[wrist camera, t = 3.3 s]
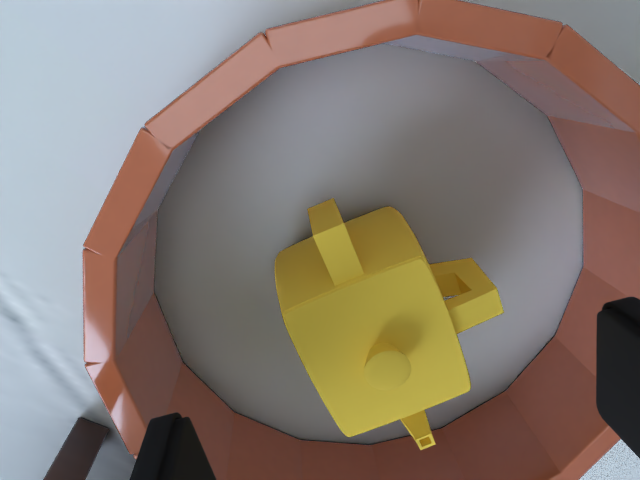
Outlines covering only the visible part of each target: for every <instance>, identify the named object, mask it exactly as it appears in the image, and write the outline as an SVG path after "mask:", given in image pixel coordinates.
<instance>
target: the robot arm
mask: <svg viewBox="0 0 640 480" xmlns="http://www.w3.org/2000/svg"><path fill="white" fill-rule="evenodd" d="M596 406H597V409H598V412H599V414H600V416H601V417H602V419H603V420H604V421H605V422H606V423H607V424H608V425H609V426H610V427H611V429H612V430H613V431H614V432H615V433H616V434H617V435H618V436H619V437H620V438H621V439H622V440H623V441H624V442H625V443H626V444H627V445H628V447H629V448H630V449H631V450H632V451H633V452H634V453H635V454H636V455H637V456H638V457H639V458H640V299H638V298H636V297H626V298H622V299H618V300H614V301H611V302H607V303H605V304H604V305H603V307H602V311H600V312H598V314H597V335H596ZM130 480H216V477H215V475H214V473H213V470H212V468H211V466H210V463H209V461H208V459H207V456H206V454H205V452H204V449H203V447H202V445H201V442H200V440H199V438H198V435H197V433H196V431H195V428H194V426H193V424H192V421H191V420H190V418H189V417H183V418H182V416H181V414H180V413H178V412H175V413H171V414H167V415H163V416H160V417H156V418H152V419H151V420H150V422H149V424H148V427H147V430H146V433H145V436H144V439H143V442H142V445H141V448H140V451H139V454H138V456H137V459H136V462H135V465H134V468H133V471H132V474H131V477H130Z"/></svg>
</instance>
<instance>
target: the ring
mask: <svg viewBox="0 0 640 480" xmlns="http://www.w3.org/2000/svg"><path fill="white" fill-rule="evenodd" d="M265 34H266V36H265V35H264V33H262V32H260V33H258V34H257V35H256V36H254V37H253V38H252V39H250V40H249V41H248V42H247V43H245V44H244V45H243V46H242V47H240V48H239V49H238V50H237V51H235V52H234V53H233V54H232V55H230V56H229V57H228V58H226V59H225V60H224V61H223V62H221V63H220V64H219V65H218V66H216V67H215V68H214V69H213V70H211V71H210V72H209V73H208V74H206V75H205V76H204V77H202V78H201V79H200V80H199V81H197V82H196V83H195V84H194V85H192V86H191V87H190V88H189V89H187V90H186V91H185V92H184V93H182V94H181V95H180V96H179V97H177V98H176V99H175V100H173V101H172V102H171V103H170V104H168V105H167V106H166V107H165V108H163V109H162V110H161V111H160V112H158V113H157V114H156V115H155V116H153V117H152V118H151V119H149V120H148V121H147V122H146V123H145V126H144V127H142V128H141V129H140V130H139V132H138V134H137V136H136V138H135V140H134V142H133V144H132V147H131V149H130V151H129V153H128V155H127V157H126V159H125V161H124V163H123V165H122V167H121V169H120V171H119V173H118V175H117V177H116V179H115V181H114V183H113V185H112V187H111V189H110V191H109V193H108V195H107V197H106V199H105V201H104V204H103V206H102V208H101V210H100V212H99V214H98V216H97V218H96V220H95V222H94V224H93V226H92V228H91V230H90V232H89V234H88V236H87V238H86V240H85V242H84V244H83V247H85V248H84V249H83V328H84V362H86V364H85V368H86V370H87V372H88V374H89V376H90V377H91V379H92V381H93V383H94V385H95V387H96V389H97V391H98V393H99V395H100V397H101V399H102V401H103V403H104V405H105V407H106V409H107V411H108V413H109V414H110V416H111V418H112V420H113V422H114V424H115V426H116V428H117V430H118V432H119V434H120V436H121V438H122V440H123V442H124V444H125V446H126V448H127V450H128V452H129V453H130V454H131V455H132V454H133V457H134V459H137V456H138V454H139V451H140V448H141V445H142V442H143V439H144V436H145V433H146V430H147V427H148V424H149V422H150V420H151V419H152V418H156V417H160V416H163V415H167V414H171V413H175V412H178V413H180V414H181V416H182V418H183V417H189V418H190V420H191V421H192V424H193V426H194V428H195V431H196V433H197V435H198V438H199V440H200V442H201V445H202V447H203V449H204V452H205V454H206V456H207V459H208V461H209V463H210V466H211V468H212V470H213V473H214V475H215V477H216V480H579V479H580V478H581V477H582V476H583V475H584V474H585V473H586V472H587V471H588V470H589V469H590V468H591V467H592V466H593V465H594V464H595V463H597V462H598V461H599V460H600V459H601V458H602V457H603V456H604V455H605V454H606V453H607V452H608V451H609V450H610V449H611V448H612V447H613V446H614V445H615V444H616V443H617V442H618V441H619V440H620V439H621V438H620V437H619V436H618V435H617V434H616V433H615V432H614V431H613V430H612V429H611V427H610V426H609V425H608V424H607V423H606V422H605V421H604V420H603V419H602V417H601V416H600V414H599V412H598V409H597V406H596V335H597V314H598V312H600V311H602V307H603V305H604V304H605V303H607V302H611V301H614V300H618V299H622V298H626V297H636V298H638V299H640V85H638V84H637V83H636V82H635V81H634V80H632V79H631V78H630V77H629V76H628V75H627V74H625V73H624V72H623V71H622V70H621V69H619V68H618V67H617V66H616V65H615V64H614V63H612V62H611V61H610V60H609V59H608V58H606V57H605V56H604V55H603V54H602V53H600V52H599V51H598V50H597V49H596V48H595V47H593V46H592V45H591V44H590V43H589V42H587V41H586V40H585V39H584V38H583V37H582V36H580V35H579V34H578V33H577V32H576V31H574V30H573V29H572V28H571V27H570V26H569V25H563V23H562V22H559V21H555V20H550V19H545V18H541V17H536V16H531V15H526V14H522V13H517V12H512V11H508V10H503V9H498V8H494V7H489V6H484V5H479V4H475V3H470V2H465V1H461V0H382V1H378V2H374V3H370V4H366V5H362V6H358V7H353V8H349V9H345V10H341V11H337V12H333V13H329V14H325V15H321V16H317V17H313V18H308V19H304V20H300V21H296V22H292V23H288V24H284V25H280V26H276V27H272V28H267V29H266V30H265ZM382 43H384V44H389V45H394V46H399V47H404V48H409V49H415V50H420V51H425V52H430V53H435V54H440V55H445V56H451V57H456V58H461V59H466V60H471V61H476V62H477V63H478V64H480V65H481V66H482V67H484V68H485V69H486V70H488V71H489V72H490V73H491V74H493V75H494V76H495V77H497V78H498V79H499V80H501V81H502V82H503V83H505V84H506V85H507V86H509V87H510V88H511V89H513V90H514V91H515V92H516V93H518V94H519V95H520V96H522V97H523V98H524V99H526V100H527V101H528V102H530V103H531V104H532V105H534V106H535V107H536V108H538V109H539V110H540V111H542V112H543V113H544V114H545V115H547V116H548V118H549V120H550V122H551V124H552V126H553V129H554V131H555V133H556V135H557V137H558V139H559V141H560V143H561V145H562V147H563V149H564V151H565V153H566V155H567V157H568V159H569V161H570V164H571V166H572V168H573V170H574V172H575V174H576V176H577V178H578V180H579V182H580V184H581V186H582V188H583V268H582V271H581V273H580V275H579V278H578V280H577V283H576V285H575V288H574V290H573V293H572V295H571V298H570V300H569V302H568V305H567V307H566V310H565V312H564V315H563V317H562V320H561V322H560V325H559V327H558V330H557V332H556V334H555V336H554V337H553V338H552V339H551V341H550V342H549V343H548V344H547V345H546V346H545V347H544V348H543V349H542V351H541V352H540V353H539V354H538V355H537V356H536V357H535V358H534V360H533V361H532V362H531V363H530V364H529V365H528V366H527V367H526V368H525V370H524V371H523V372H522V373H521V374H520V375H519V376H518V377H517V379H516V380H515V381H514V382H513V383H512V384H511V385H510V386H509V387H508V389H507V390H506V391H504V392H503V393H501V394H499V395H497V396H496V397H494V398H492V399H491V400H489V401H487V402H485V403H484V404H482V405H480V406H479V407H477V408H475V409H474V410H472V411H470V412H468V413H467V414H465V415H463V416H462V417H460V418H458V419H456V420H455V421H453V422H451V423H450V424H448V425H446V426H445V427H443V428H440V429H436V430H432V431H431V432H432V435H433V438H434V441H435V443H436V444H435V445H433V446H430V447H428V448H425V449H422V450H420V448H419V446H418V444H417V443H416V442H415V440H414V439H413V437H412V436H407V437H402V438H398V439H394V440H390V441H385V442H381V443H377V444H373V445H364V444H350V443H336V442H322V441H308V440H299V439H297V438H294V437H292V436H290V435H287V434H285V433H283V432H280V431H278V430H275V429H273V428H271V427H268V426H266V425H264V424H261V423H259V422H257V421H254V420H252V419H249V418H247V417H245V416H242V415H240V414H238V413H235V412H234V411H233V410H232V409H231V408H230V407H229V406H227V405H226V404H225V403H224V402H223V401H222V400H221V399H220V398H219V397H218V396H217V395H216V394H215V393H214V392H213V391H212V390H211V389H210V388H209V387H208V386H207V385H206V384H205V383H204V382H203V381H202V380H201V379H200V378H198V377H197V376H196V375H195V374H194V373H193V372H192V371H191V370H190V369H189V368H188V367H187V366H186V365H185V364H184V363H183V362H182V359H181V357H180V354H179V352H178V349H177V347H176V345H175V342H174V340H173V337H172V335H171V332H170V330H169V328H168V325H167V323H166V320H165V318H164V315H163V313H162V311H161V308H160V306H159V303H158V301H157V298H156V296H155V294H154V276H155V256H156V235H157V215H158V208H159V207H160V205H161V203H162V201H163V199H164V197H165V195H166V193H167V191H168V190H169V188H170V186H171V184H172V182H173V180H174V178H175V176H176V175H177V173H178V171H179V169H180V167H181V165H182V163H183V161H184V160H185V158H186V156H187V154H188V152H189V150H190V148H191V146H192V144H193V143H194V141H195V139H196V137H197V135H198V133H199V131H200V130H201V129H202V128H203V127H205V126H206V125H207V124H208V123H210V122H211V121H212V120H214V119H215V118H216V117H218V116H219V115H220V114H221V113H223V112H224V111H225V110H227V109H228V108H229V107H231V106H232V105H233V104H234V103H236V102H237V101H238V100H240V99H241V98H242V97H243V96H245V95H246V94H247V93H249V92H250V91H251V90H253V89H254V88H255V87H256V86H258V85H259V84H260V83H262V82H263V81H264V80H266V79H267V78H268V77H269V76H271V75H272V74H273V73H275V72H276V71H277V70H279V69H280V68H283V67H287V66H291V65H295V64H300V63H304V62H308V61H312V60H316V59H320V58H324V57H328V56H332V55H337V54H341V53H345V52H349V51H353V50H357V49H361V48H365V47H369V46H373V45H378V44H382Z"/></svg>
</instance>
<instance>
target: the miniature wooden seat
mask: <svg viewBox="0 0 640 480" xmlns="http://www.w3.org/2000/svg"><path fill="white" fill-rule="evenodd" d="M108 431H109V429H108V428H106V427H103V426H101V425H98V424H96V423H93V422H90V421H88V420H85V419H82V418H78V420H77V421H76V423H75V425H74V427H73V428H72V430H71V432H70V434H69V435H68V437H67V439H66V441H65V442H64V444H63V446H62V448H61V449H60V451H59V453H58V455H57V456H56V458H55V460H54V462H53V463H52V465H51V467H50V469H49V470H48V472H47V474H46V476H45V477H44V479H43V480H85V479H86V477H87V475H88V473H89V471H90V469H91V467H92V465H93V462H94V460H95V458H96V456H97V454H98V452H99V450H100V448H101V445H102V443H103V441H104V439H105V437H106V435H107V433H108Z"/></svg>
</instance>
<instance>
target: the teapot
mask: <svg viewBox="0 0 640 480" xmlns="http://www.w3.org/2000/svg"><path fill="white" fill-rule="evenodd" d="M307 210H308V215H309V220H310V224H311V229H312V234H313V236H312V237H310V238H307V239H305V240H303V241H301V242H298V243H296V244H294V245H292V246H290V247H288V248H286V249H284V250H282V251H280V252H279V253H278V255H277V257H276V259H275V283H276V290H277V295H278V300H279V304H280V309H281V313H282V317H283V320H284V323H285V326H286V328H287V331H288V333H289V336H290V338H291V340H292V342H293V344H294V347H295V349H296V351H297V353H298V355H299V357H300V359H301V361H302V363H303V365H304V367H305V369H306V371H307V373H308V375H309V377H310V379H311V381H312V383H313V384H314V386H315V388H316V390H317V392H318V393H319V395H320V397H321V399H322V400H323V402H324V404H325V406H326V407H327V409H328V411H329V412H330V414H331V416H332V417H333V419H334V421H335V422H336V424H337V425H338V427H339V428H340V430H341V431H342V432H343V433H344V434H345V435H346V436H347V437H352V436H355V435H358V434H361V433H364V432H367V431H370V430H372V429H375V428H378V427H381V426H384V425H386V424H389V423H392V422H394V421H397V420H401V422H402V423H403V424H404V426H405V427H406V429H407V430H408V432H409V433H410V434H411V436H412V437H413V439H414V440H415V442H416V443H417V444H418V446H419V448H420V450H422V449H425V448H428V447H430V446H433V445H435V444H436V443H435V441H434V438H433V435H432V432H431V429H430V425H429V422H428V419H427V416H426V413H425V409H428V408H430V407H433V406H435V405H438V404H440V403H443V402H445V401H448V400H450V399H452V398H455V397H457V396H459V395H462V394H464V393H467V392H469V390H470V389H471V382H470V377H469V373H468V369H467V366H466V362H465V359H464V356H463V352H462V349H461V346H460V343H459V340H458V337H457V334H458V333H460V332H462V331H465V330H467V329H469V328H471V327H473V326H476V325H478V324H480V323H482V322H484V321H487V320H489V319H491V318H493V317H495V316H498V315H500V314H502V313H504V311H503V307H502V304H501V300H500V297H499V293H498V290H497V288H496V286H495V285H494V284H493V283H492V282H491V280H490V279H489V278H488V277H487V276H486V274H485V273H484V272H483V271H482V270H481V268H480V267H479V266H478V265H477V264H476V262H475V261H474V260H473V259H472V258H467V259H460V260H454V261H447V262H441V263H434V264H429V263H428V261H427V259H426V257H425V255H424V253H423V250H422V248H421V246H420V244H419V242H418V240H417V238H416V237H415V235H414V233H413V231H412V230H411V228H410V226H409V225H408V223H407V222H406V220H405V219H404V217H403V216H402V215H401V213H400V212H398V211H397V210H396V209H394V208H393V207H390V206H387V207H383V208H380V209H378V210H375V211H372V212H369V213H367V214H365V215H362V216H360V217H357V218H355V219H352V220H350V221H347V222H345V223H344V222H343V219H342V217H341V214H340V212H339V210H338V207H337V205H336V202H335V200H334V198H332V199H330V200H327V201H325V202H323V203H320V204H318V205H315V206H313V207H311V208H308V209H307ZM454 295H458V296H455V297H453V298H450V299H447V300H445V301H444V299H443V297H447V296H454Z"/></svg>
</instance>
